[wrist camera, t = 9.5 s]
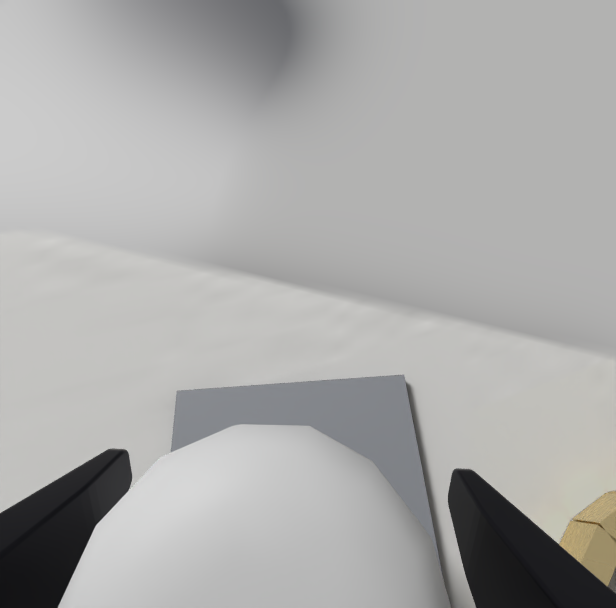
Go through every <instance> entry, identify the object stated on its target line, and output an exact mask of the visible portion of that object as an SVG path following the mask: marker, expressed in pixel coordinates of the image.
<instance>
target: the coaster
mask: <svg viewBox="0 0 616 608" xmlns="http://www.w3.org/2000/svg"><path fill="white" fill-rule="evenodd" d="M240 424H252V425H299V426H311V427H313V428H314V429H316V430H318V431H320V432H321V433H323V434H325V435H327V436H329V437H330V438H332V439H334V440H336V441H337V442H339V443H341V444H343V445H345V446H346V447H348V448H350V449H352V450H353V451H355V452H357V453H359V454H361V455H362V456H364V457H366V458H368V459H369V460H371V461H373V463H374V464H375V465H376V467H377V468H378V469H379V470H380V472H381V473H382V474H383V476H384V477H385V478H386V479H387V481H388V482H389V483H390V485H391V486H392V487H393V489H394V490H395V491H396V492H397V494H398V495H399V496H400V498H401V499H402V500H403V501H404V503H405V504H406V505H407V507H408V508H409V509H410V510H411V512H412V513H413V514H414V516H415V517H416V518H417V519H418V521H419V522H420V523H421V525H422V526H423V527H424V529H425V530H426V532H427V533H428V534H429V536H430V537H431V539H432V542H433V545H434V549H435V552H436V556H437V559H438V563H439V566H440V570H441V565H440V559H439V554H438V549H437V544H436V539H435V533H434V528H433V523H432V518H431V513H430V507H429V502H428V497H427V492H426V487H425V481H424V476H423V471H422V466H421V461H420V455H419V450H418V445H417V440H416V435H415V429H414V424H413V419H412V414H411V409H410V403H409V398H408V393H407V388H406V383H405V377H404V375H392V376H378V377H364V378H350V379H336V380H322V381H308V382H294V383H279V384H265V385H251V386H237V387H223V388H209V389H195V390H181V391H177V395H176V405H175V415H174V425H173V436H172V446H171V452H173V451H175V450H178V449H180V448H182V447H185V446H187V445H189V444H192V443H194V442H196V441H199V440H201V439H203V438H206V437H208V436H210V435H213V434H215V433H217V432H219V431H222V430H224V429H226V428H229V427H231V426H234V425H240ZM441 573H442V570H441ZM442 577H443V575H442Z"/></svg>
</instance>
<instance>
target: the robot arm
mask: <svg viewBox="0 0 616 608" xmlns="http://www.w3.org/2000/svg"><path fill="white" fill-rule="evenodd" d="M131 481H132V472H131V466H130V459H129V454H128V452H127V450H125V449H108V450H106V451H105V452H103V453H101V454H100V455H98V456H96V457H94V458H93V459H91V460H89V461H88V462H86V463H84V464H83V465H81V466H79V467H78V468H76V469H74V470H72V471H71V472H69V473H67V474H66V475H64V476H62V477H61V478H59V479H57V480H56V481H54V482H52V483H50V484H49V485H47V486H45V487H44V488H42V489H40V490H39V491H37V492H35V493H34V494H32V495H30V496H28V497H27V498H25V499H23V500H22V501H20V502H18V503H17V504H15V505H13V506H12V507H10V508H8V509H6V510H5V511H3V512H1V513H0V608H58V606H59V604H60V602H61V600H62V597H63V595H64V593H65V591H66V589H67V587H68V584H69V582H70V580H71V578H72V576H73V574H74V572H75V569H76V567H77V565H78V563H79V561H80V559H81V556H82V554H83V552H84V550H85V548H86V546H87V544H88V541H89V539H90V537H91V535H92V533H93V531H94V528H95V526H96V525H97V524H98V523H99V522H100V521H101V520H102V519H103V518H104V516H105V515H106V514H107V513H108V512H109V511H110V510H111V509H112V508H113V507H114V506H115V505H116V504H117V503H118V502H119V500H120V499H121V498H122V497H123V496H124V495H125V494H126V493H127V492H128V490H129V488H130V485H131ZM448 505H449V509H450V513H451V517H452V522H453V526H454V530H455V534H456V538H457V542H458V546H459V551H460V555H461V559H462V563H463V567H464V571H465V575H466V578H467V581H468V584H469V587H470V590H471V593H472V596H473V599H474V602H475V605H476V608H616V593H615V592H613V591H612V590H611V589H610V588H609V587H608V586H606V585H605V584H604V583H603V582H602V581H601V580H600V579H598V578H597V577H596V576H595V575H594V574H593V573H591V572H590V571H589V570H588V569H587V568H586V567H584V566H583V565H582V564H581V563H580V562H579V561H577V560H576V559H575V558H574V557H573V556H572V555H571V554H569V553H568V552H567V551H566V550H565V549H564V548H562V547H561V546H560V545H559V544H558V543H557V542H555V541H554V540H553V539H552V538H551V537H550V536H549V535H547V534H546V533H545V532H544V531H543V530H542V529H540V528H539V527H538V526H537V525H536V524H535V523H533V522H532V521H531V520H530V519H529V518H528V517H527V516H525V515H524V514H523V513H522V512H521V511H520V510H518V509H517V508H516V507H515V506H514V505H513V504H511V503H510V502H509V501H508V500H507V499H506V498H505V497H503V496H502V495H501V494H500V493H499V492H498V491H496V490H495V489H494V488H493V487H492V486H491V485H489V484H488V483H487V482H486V481H485V480H484V479H483V478H481V477H480V476H479V475H478V474H477V473H476V472H474V471H473V470H470V469H454V471H453V473H452V477H451V482H450V487H449V493H448Z"/></svg>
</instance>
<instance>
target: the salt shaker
mask: <svg viewBox="0 0 616 608" xmlns="http://www.w3.org/2000/svg"><path fill="white" fill-rule="evenodd" d="M58 608H451V605H450V602H449V598H448V595H447V591H446V588H445V584H444V580H443V577H442V573H441V570H440V566H439V563H438V559H437V556H436V552H435V549H434V545H433V542H432V539H431V537H430V536H429V534H428V533H427V532H426V530H425V529H424V527H423V526H422V525H421V523H420V522H419V521H418V519H417V518H416V517H415V516H414V514H413V513H412V512H411V510H410V509H409V508H408V507H407V505H406V504H405V503H404V501H403V500H402V499H401V498H400V496H399V495H398V494H397V492H396V491H395V490H394V489H393V487H392V486H391V485H390V483H389V482H388V481H387V479H386V478H385V477H384V476H383V474H382V473H381V472H380V470H379V469H378V468H377V467H376V465H375V464H374V463H373V461H371V460H369V459H368V458H366V457H364V456H362V455H361V454H359V453H357V452H355V451H353V450H352V449H350V448H348V447H346V446H345V445H343V444H341V443H339V442H337V441H336V440H334V439H332V438H330V437H329V436H327V435H325V434H323V433H321V432H320V431H318V430H316V429H314V428H313V427H311V426H299V425H252V424H240V425H234V426H231V427H229V428H226V429H224V430H222V431H219V432H217V433H215V434H213V435H210V436H208V437H206V438H203V439H201V440H199V441H196V442H194V443H192V444H189V445H187V446H185V447H182V448H180V449H178V450H175V451H173V452H171V453H168V454H166V455H164V456H162V457H160V458H159V459H158V460H157V461H156V462H155V463H154V464H153V465H152V466H151V467H150V468H149V470H148V471H147V472H146V473H145V474H144V475H143V476H142V477H141V478H140V479H139V480H138V481H137V482H136V483H135V484H134V486H133V487H132V488H131V489H130V490H129V491H128V492H127V493H126V494H125V495H124V496H123V497H122V498H121V499H120V500H119V502H118V503H117V504H116V505H115V506H114V507H113V508H112V509H111V510H110V511H109V512H108V513H107V514H106V515H105V516H104V518H103V519H102V520H101V521H100V522H99V523H98V524H97V525H96V526H95V528H94V531H93V533H92V535H91V537H90V539H89V541H88V544H87V546H86V548H85V550H84V552H83V554H82V556H81V559H80V561H79V563H78V565H77V567H76V569H75V572H74V574H73V576H72V578H71V580H70V582H69V584H68V587H67V589H66V591H65V593H64V595H63V597H62V600H61V602H60V604H59V606H58Z"/></svg>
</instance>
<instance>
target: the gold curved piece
mask: <svg viewBox="0 0 616 608" xmlns="http://www.w3.org/2000/svg"><path fill="white" fill-rule="evenodd" d="M559 545H560V546H561V547H562V548H564V549H565V550H566V551H567V552H568V553H569V554H571V555H572V556H573V557H574V558H575V559H576V560H577V561H579V562H580V563H581V564H582V565H583V566H584V567H586V568H587V569H588V570H589V571H590V572H591V573H593V574H594V575H595V576H596V577H597V578H598V579H600V580H601V581H602V582H603V583H604V584H605V585H606V586H608V585H609V582H610V580H611V577H612V575H613V573H614V570H615V568H616V491H611V492H608V493H605V494H604V495H603V496H601V497H600V498H599V499H597V500H596V501H595V502H594V503H592V504H591V505H590V506H588V507H587V508H586V509H585V510H583V511H582V512H581V513H579V514H578V515H577V516H576V517H574V518H573V521H570V523H569V525H568V527H567V529H566V532H565V534H564V536H563V538H562V540H561V542H560V544H559Z"/></svg>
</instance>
